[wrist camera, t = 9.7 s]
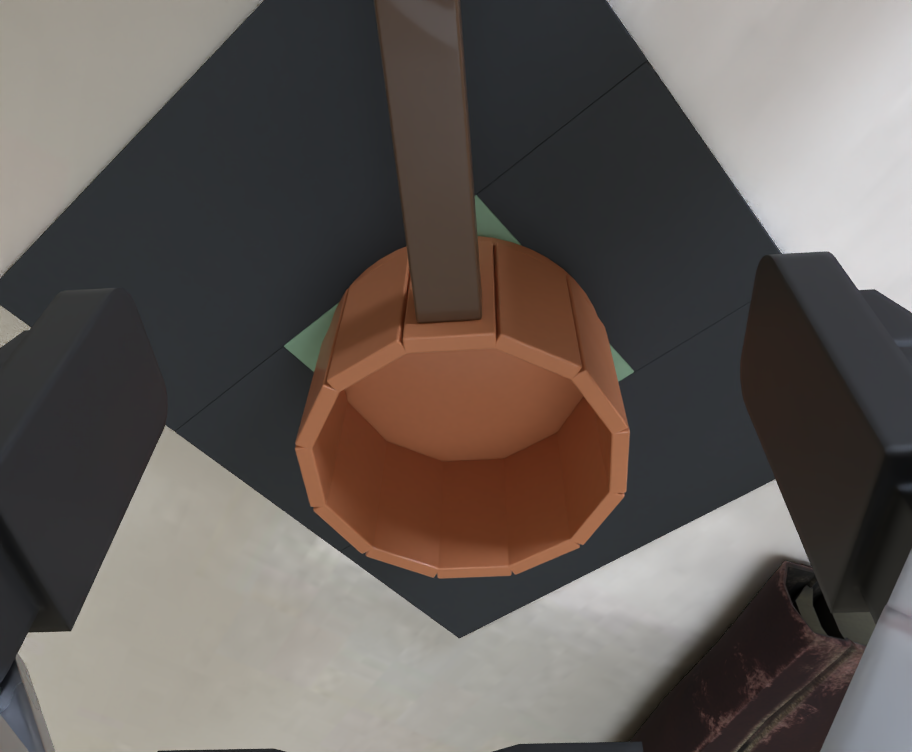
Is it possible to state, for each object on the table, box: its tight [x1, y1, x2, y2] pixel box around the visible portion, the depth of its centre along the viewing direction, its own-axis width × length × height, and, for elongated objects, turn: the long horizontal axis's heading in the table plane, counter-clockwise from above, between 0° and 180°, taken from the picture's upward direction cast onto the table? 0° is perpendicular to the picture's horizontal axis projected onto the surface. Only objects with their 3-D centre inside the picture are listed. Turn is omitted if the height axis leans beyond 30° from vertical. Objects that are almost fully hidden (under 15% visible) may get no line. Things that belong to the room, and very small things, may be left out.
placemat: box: [0, 0, 781, 638], centre depth 33 cm, size 28×24×1 cm
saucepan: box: [295, 0, 630, 579], centre depth 27 cm, size 21×11×6 cm, turn 5°
